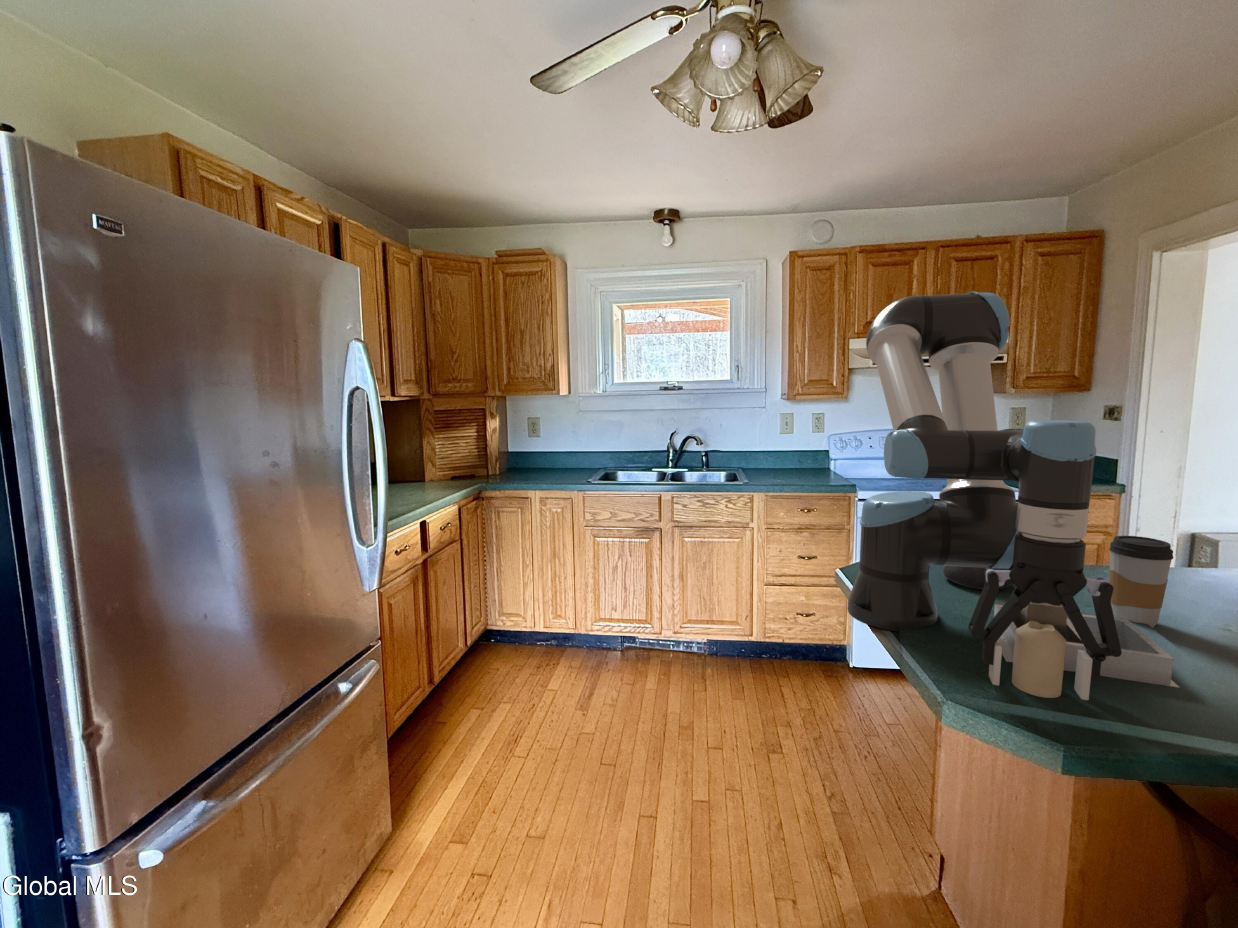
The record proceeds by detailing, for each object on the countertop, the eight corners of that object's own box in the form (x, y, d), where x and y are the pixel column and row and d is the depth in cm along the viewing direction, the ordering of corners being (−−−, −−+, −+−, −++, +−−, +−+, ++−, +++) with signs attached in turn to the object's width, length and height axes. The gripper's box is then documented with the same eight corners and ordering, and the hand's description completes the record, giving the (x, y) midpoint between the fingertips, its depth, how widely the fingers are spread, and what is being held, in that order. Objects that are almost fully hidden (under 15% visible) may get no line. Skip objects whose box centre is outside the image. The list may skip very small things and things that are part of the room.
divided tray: (1005, 667, 83) (1008, 636, 83) (986, 630, 96) (988, 603, 95) (1178, 694, 75) (1183, 659, 75) (1132, 649, 88) (1135, 620, 88)
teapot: (1017, 602, 109) (1021, 553, 107) (933, 582, 120) (936, 538, 119) (1044, 580, 120) (1047, 536, 119) (965, 564, 132) (968, 524, 131)
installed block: (1023, 651, 86) (1027, 603, 85) (1015, 638, 91) (1019, 592, 90) (1063, 657, 84) (1067, 607, 83) (1052, 643, 89) (1056, 596, 88)
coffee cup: (1178, 632, 94) (1188, 548, 92) (1121, 629, 96) (1131, 546, 94) (1142, 613, 102) (1151, 535, 100) (1091, 610, 104) (1099, 534, 102)
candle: (1001, 684, 79) (1006, 618, 77) (1037, 681, 79) (1042, 616, 78) (1033, 705, 73) (1039, 635, 72) (1071, 703, 74) (1078, 632, 72)
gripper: (959, 535, 74) (948, 689, 77) (1172, 551, 65) (1151, 725, 68) (950, 522, 81) (941, 665, 84) (1142, 536, 72) (1124, 694, 75)
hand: (1035, 692), depth 76 cm, fingers open, 9 cm apart
